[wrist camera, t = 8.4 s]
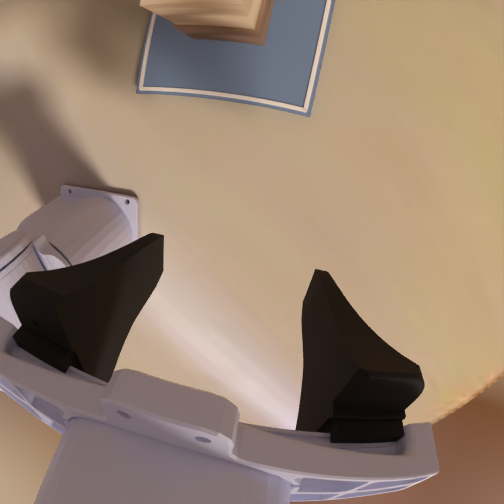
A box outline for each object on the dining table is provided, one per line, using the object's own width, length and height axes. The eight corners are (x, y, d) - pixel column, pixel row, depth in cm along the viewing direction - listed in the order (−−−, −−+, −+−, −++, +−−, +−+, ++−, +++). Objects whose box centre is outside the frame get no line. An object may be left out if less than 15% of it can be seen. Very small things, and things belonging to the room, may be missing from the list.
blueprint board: (142, 93, 18) (106, 95, 14) (175, -50, 11) (151, -73, 7) (308, 116, 18) (315, 121, 14) (340, -36, 11) (352, -65, 7)
